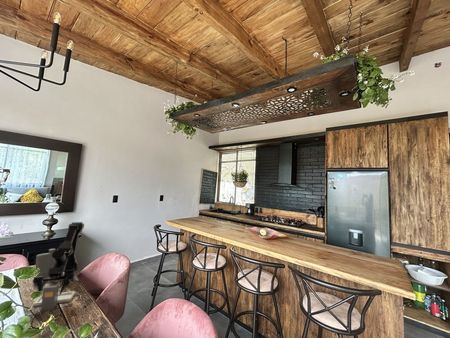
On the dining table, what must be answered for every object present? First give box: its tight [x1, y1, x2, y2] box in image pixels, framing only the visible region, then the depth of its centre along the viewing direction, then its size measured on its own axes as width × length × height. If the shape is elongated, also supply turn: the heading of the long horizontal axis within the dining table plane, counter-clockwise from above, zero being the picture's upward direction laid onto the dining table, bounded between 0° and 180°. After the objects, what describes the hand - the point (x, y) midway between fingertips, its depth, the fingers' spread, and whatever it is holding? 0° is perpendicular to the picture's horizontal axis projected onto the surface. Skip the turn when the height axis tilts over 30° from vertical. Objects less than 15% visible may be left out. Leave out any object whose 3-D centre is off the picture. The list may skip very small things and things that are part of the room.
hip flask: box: [33, 248, 56, 279], centre depth 142 cm, size 16×4×20 cm, turn 137°
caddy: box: [40, 280, 61, 312], centre depth 111 cm, size 5×6×12 cm
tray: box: [33, 290, 76, 307], centre depth 118 cm, size 9×17×2 cm, turn 113°
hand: (49, 295), depth 110 cm, fingers open, 9 cm apart
